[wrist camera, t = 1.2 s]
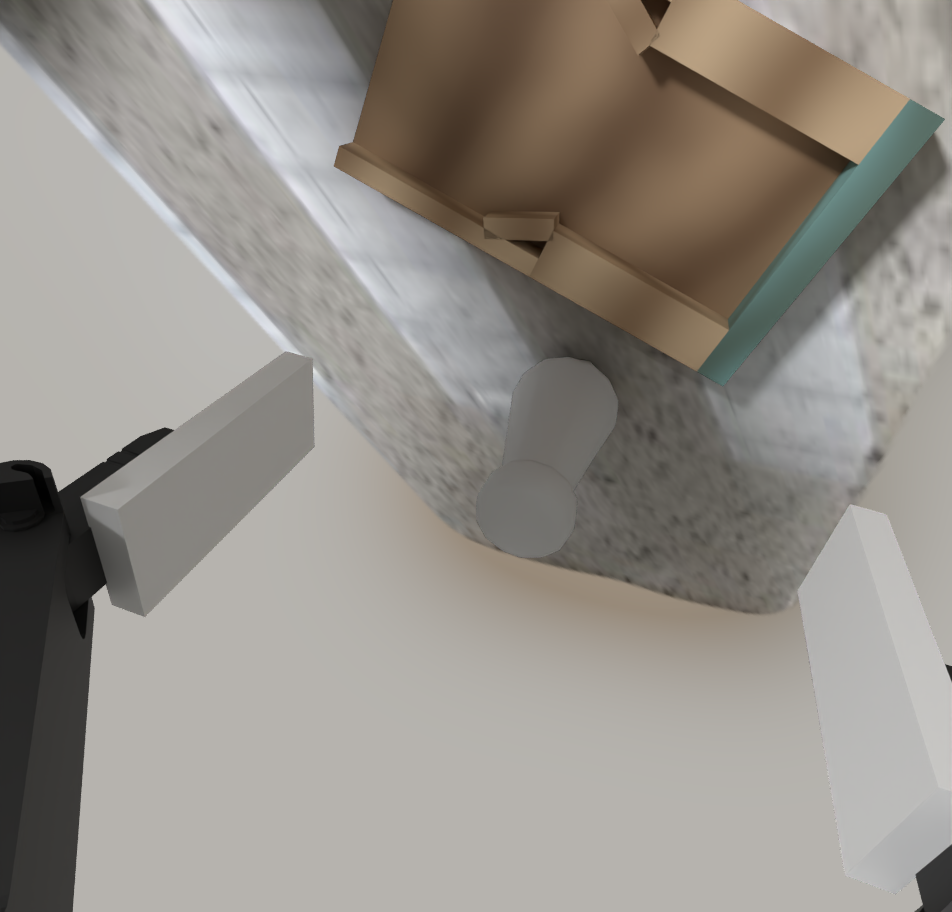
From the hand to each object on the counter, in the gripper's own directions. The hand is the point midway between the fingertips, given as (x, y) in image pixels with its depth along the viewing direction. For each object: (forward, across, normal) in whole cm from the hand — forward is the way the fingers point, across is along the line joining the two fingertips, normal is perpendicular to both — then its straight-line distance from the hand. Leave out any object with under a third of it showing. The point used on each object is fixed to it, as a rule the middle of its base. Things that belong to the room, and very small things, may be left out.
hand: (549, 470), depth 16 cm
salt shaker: (+20, -1, -8) cm, 22 cm away
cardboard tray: (+20, -3, +5) cm, 21 cm away
